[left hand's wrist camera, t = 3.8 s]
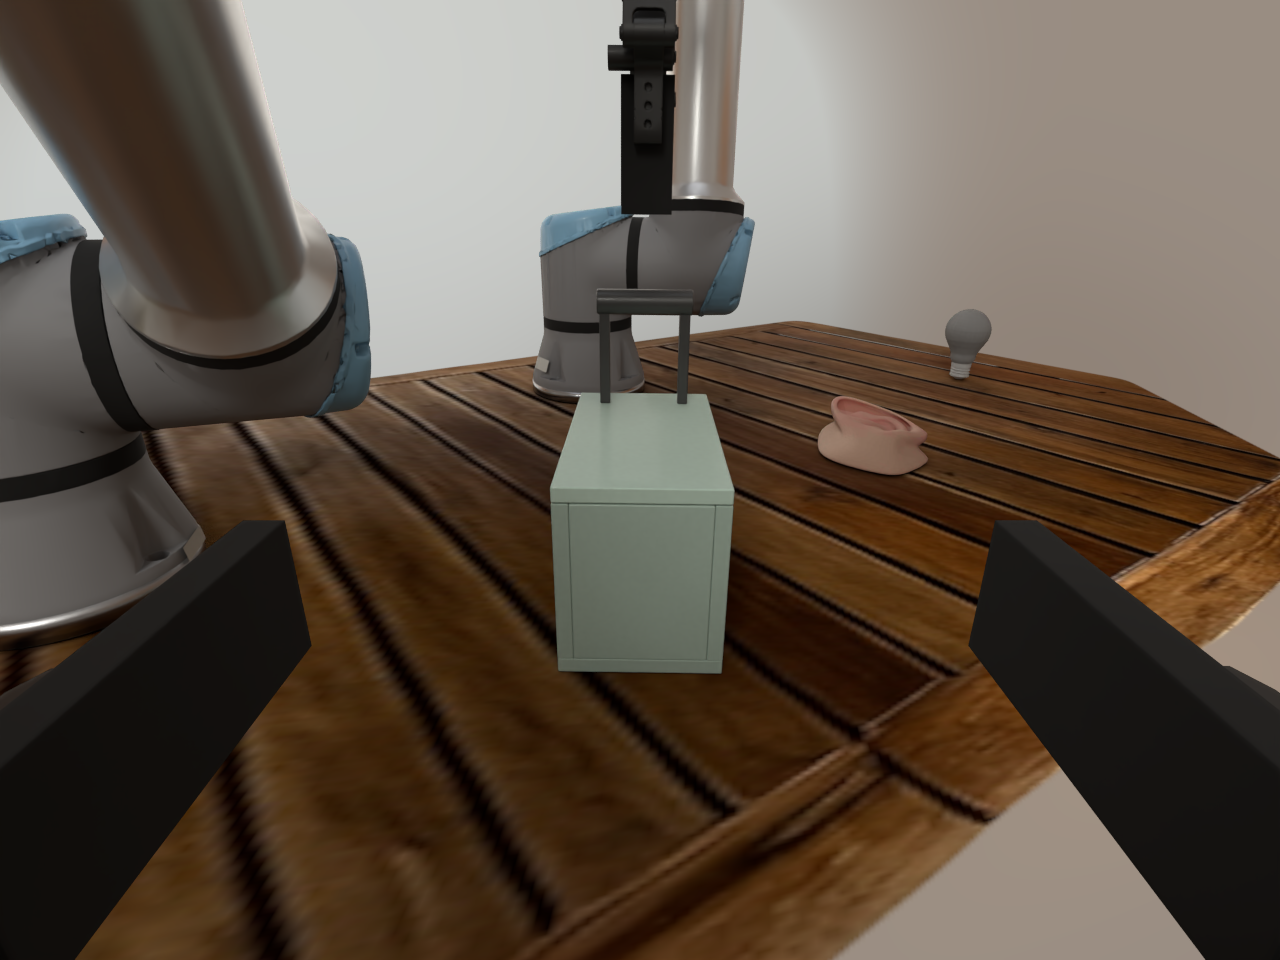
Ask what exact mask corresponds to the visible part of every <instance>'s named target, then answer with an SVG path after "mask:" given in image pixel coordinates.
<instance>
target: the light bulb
mask: <svg viewBox="0 0 1280 960" xmlns="http://www.w3.org/2000/svg"><path fill="white" fill-rule="evenodd" d="M990 334H991V323H990V321H989V319H988V317H987V316H986V315H985V314H984V313H982V312H980V311H978V310H974V309H968V310H963V311H960V312H958V313H957V314H955V315H954V316H953V317H952V318H951V319H950V320H949V322H948V323H947V326H946V330H945V336H946V339H947V342H948V345H949V347H950V351H951V360H952V364H951V368H952V369H950V371H951V372H950V375H951V376H953V377H954V378H956V379H963V378H966V377H969V371H970V370H969V368H971V364H972V362H973V361H974V360H975V357H976V354H977V353H978V352H979V350H980V349H981V348H982V347H983V346H984V344H985V343H986V342H987V341H988V339H989V337H990Z"/></svg>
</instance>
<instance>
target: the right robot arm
mask: <svg viewBox="0 0 1280 960" xmlns="http://www.w3.org/2000/svg"><path fill="white" fill-rule="evenodd" d="M622 2H623V24H621V26H620V28H619V35H620V39H621V41H623V45H608V70H609V71H630V74H621V206H614V207H606V208H598V209H591V210H583V211H575V212H568V213H561V214H553V215H550V216H548V217H547V218H546V219H545V220H544V221H543V223H542V225H541V251H540V253H539V256H540V257H541V275H542V295H543V315H544V336H543V340H542V343H541V347H540V351H539V354H538V358H537V362H536V365H535V369H534V373H533V390H534V392H535V393H537V394H538V395H540V396H542V397H545V398H548V399H552V400H556V401H563V402H572V403H578V402H579V399H580V396H581V393H600V344H599V314H597V310H596V292H597V289H673V290H693V292H694V307H693V314H692V315H699V316H701V317H702V316H704V315H726V314H730V313H732V312H733V311H734V310H735V309H736V308H737V307H738V305H739V302H740V297H741V292H742V287H743V282H744V277H745V272H746V267H747V262H748V257H749V251H750V246H751V241H752V235H753V230H754V225H755V222H754V221H753V220H752V219H750V218H749V217H745V218H743V215H744V202H743V200H742V199H741V198H740V197H739V196H738V195H737V194H736V192H735V191H734V188H733V176H734V160H735V142H736V125H737V108H738V92H739V75H740V59H741V43H742V26H743V10H744V0H622ZM666 71H667V75H666ZM634 214H643V215H645V214H646V215H649V217H632V216H633V215H634ZM610 385H611V393H641V392H642V391H643V390H644V372H643V368H642V365H641V362H640V359H639V356H638V352H637V349H636V346H635V343H634V339H633V336H632V331H631V315H612V314H610Z"/></svg>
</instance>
